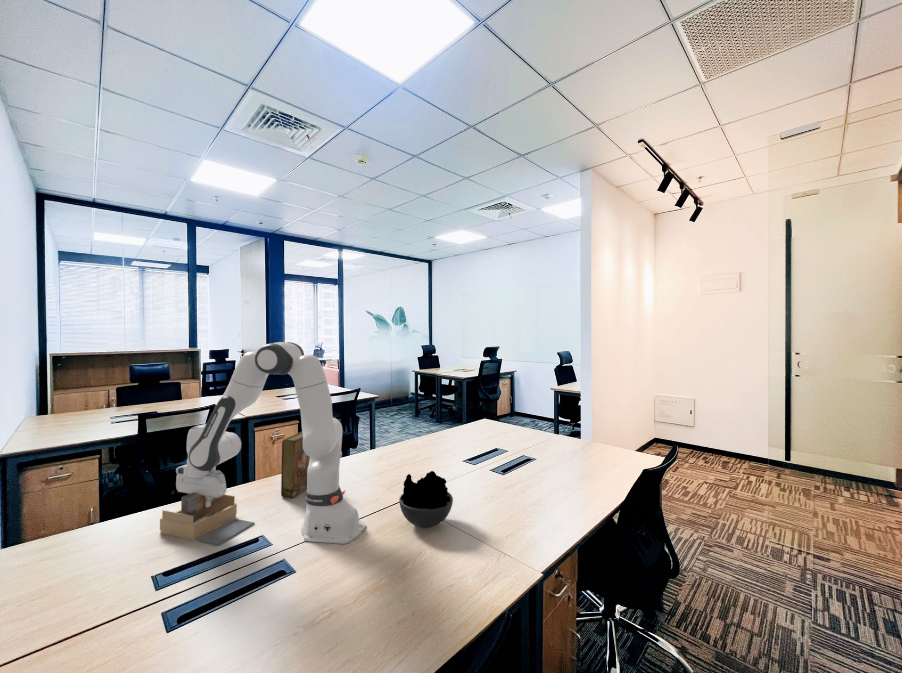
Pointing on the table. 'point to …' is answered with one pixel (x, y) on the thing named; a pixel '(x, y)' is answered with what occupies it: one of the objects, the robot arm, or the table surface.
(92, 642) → the table surface
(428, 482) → the coal bowl
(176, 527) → the carton
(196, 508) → the capped box
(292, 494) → the book
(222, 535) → the mat
